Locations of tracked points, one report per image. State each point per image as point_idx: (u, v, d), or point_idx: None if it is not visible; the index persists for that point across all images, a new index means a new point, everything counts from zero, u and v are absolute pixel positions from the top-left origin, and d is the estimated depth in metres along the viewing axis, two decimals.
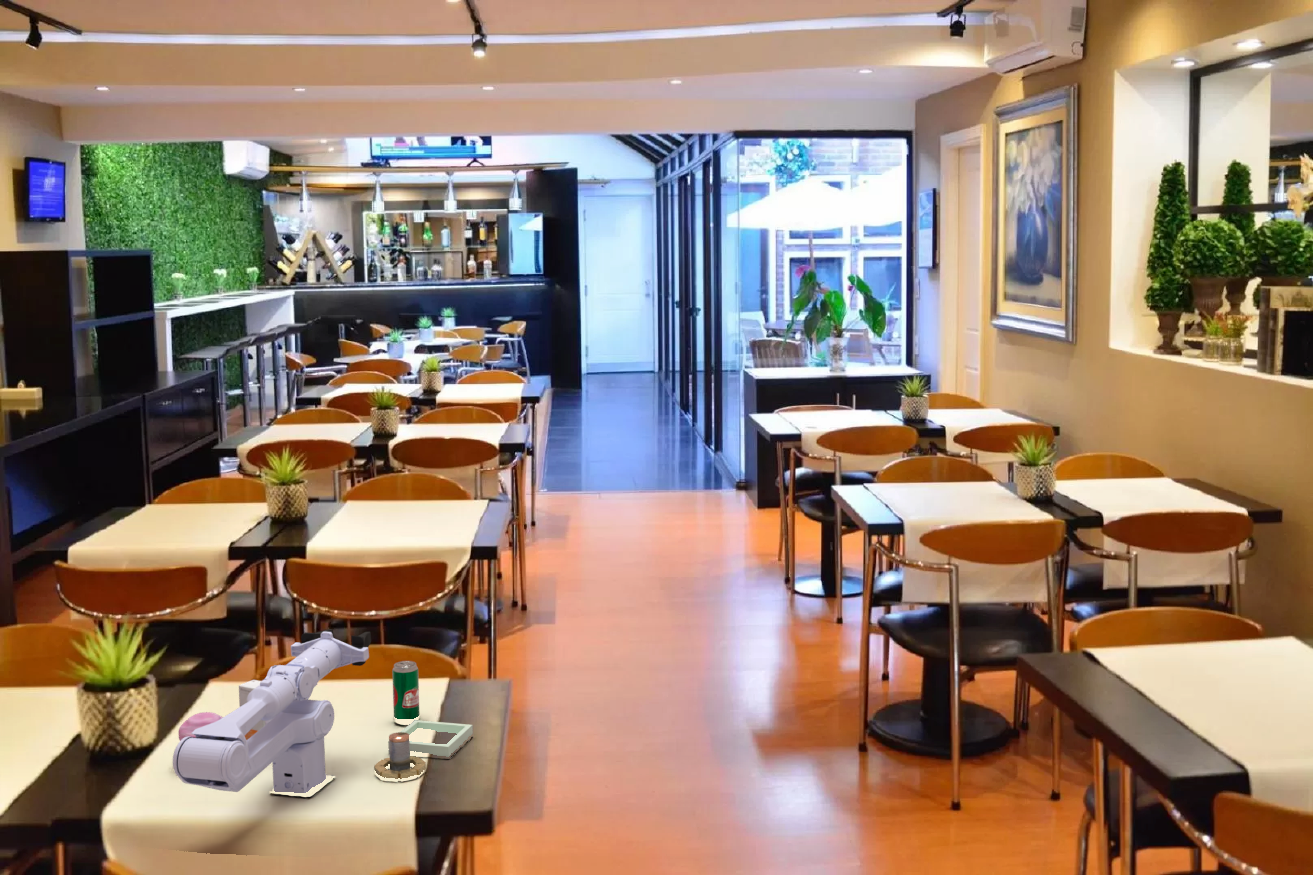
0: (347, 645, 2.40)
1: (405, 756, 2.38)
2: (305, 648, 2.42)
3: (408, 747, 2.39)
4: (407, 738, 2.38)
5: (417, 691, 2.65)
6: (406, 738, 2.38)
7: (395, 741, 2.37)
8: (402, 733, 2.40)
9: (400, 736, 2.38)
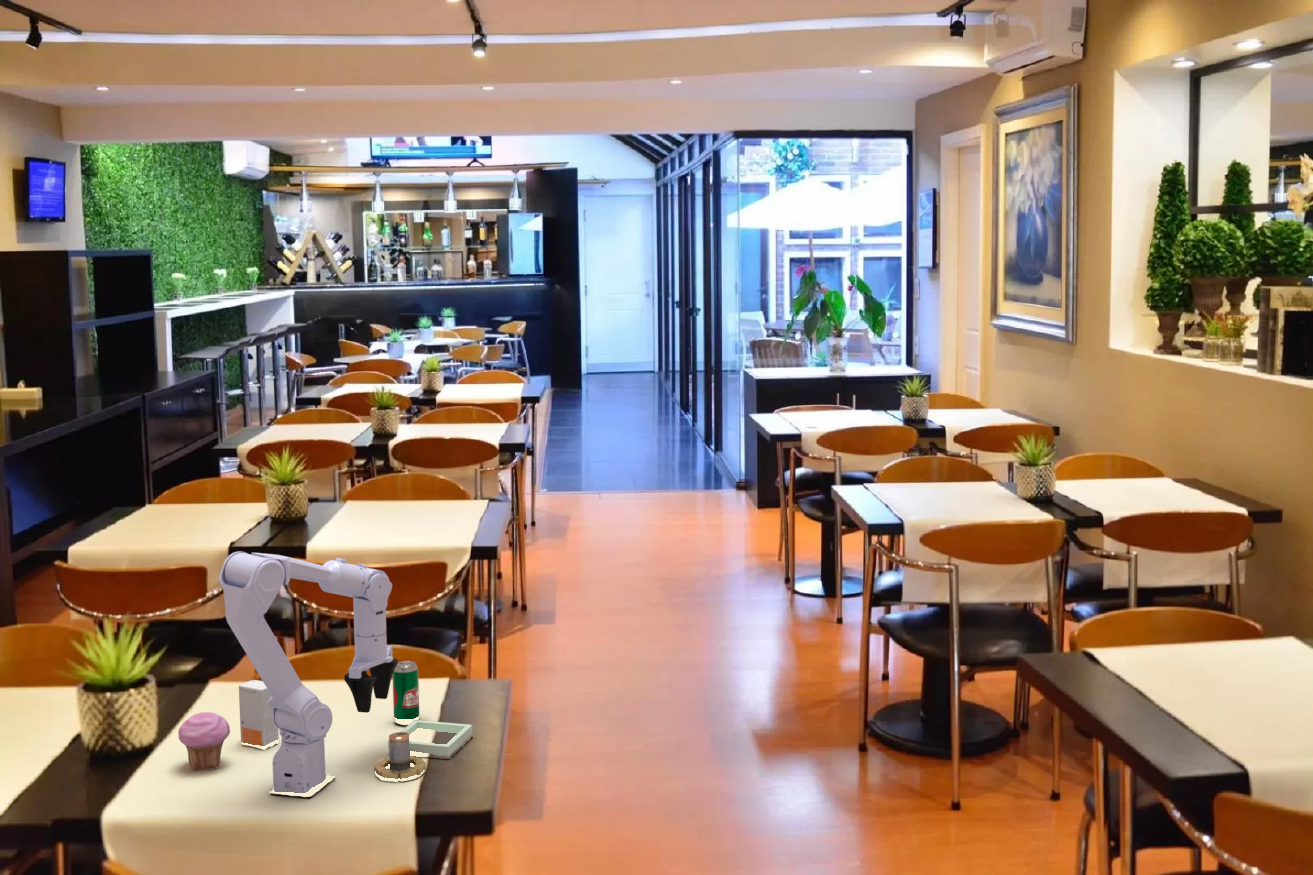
0: (370, 664, 2.40)
1: (405, 756, 2.38)
2: None
3: (408, 747, 2.39)
4: (407, 738, 2.38)
5: (417, 691, 2.65)
6: (406, 738, 2.38)
7: (395, 741, 2.37)
8: (401, 733, 2.40)
9: (400, 736, 2.38)
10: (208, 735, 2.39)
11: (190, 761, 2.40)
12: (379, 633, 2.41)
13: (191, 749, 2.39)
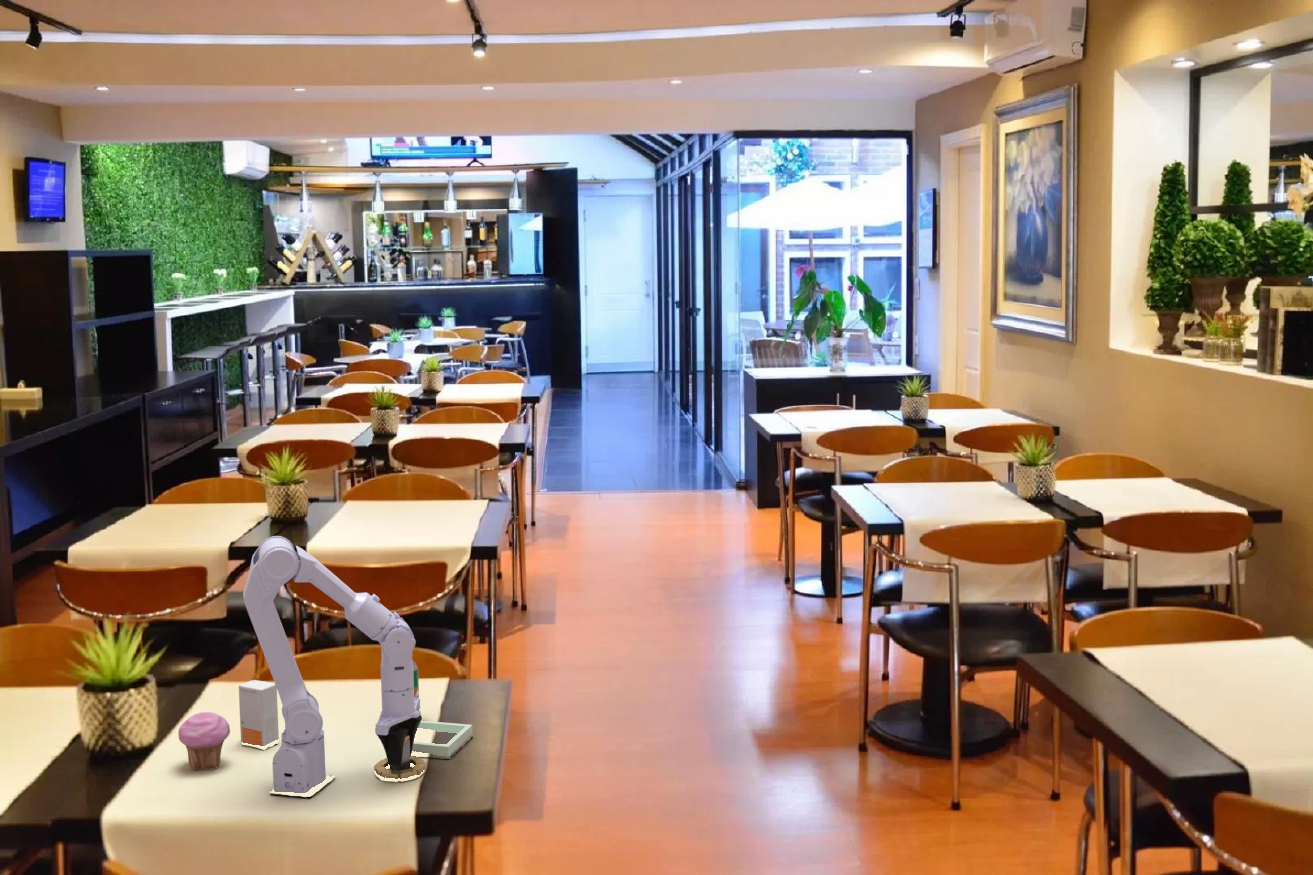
0: (397, 720, 2.34)
1: (405, 756, 2.38)
2: None
3: (408, 747, 2.39)
4: (407, 738, 2.38)
5: (417, 691, 2.65)
6: (406, 738, 2.38)
7: None
8: None
9: None
10: (208, 735, 2.39)
11: (190, 761, 2.40)
12: (398, 689, 2.35)
13: (191, 749, 2.39)
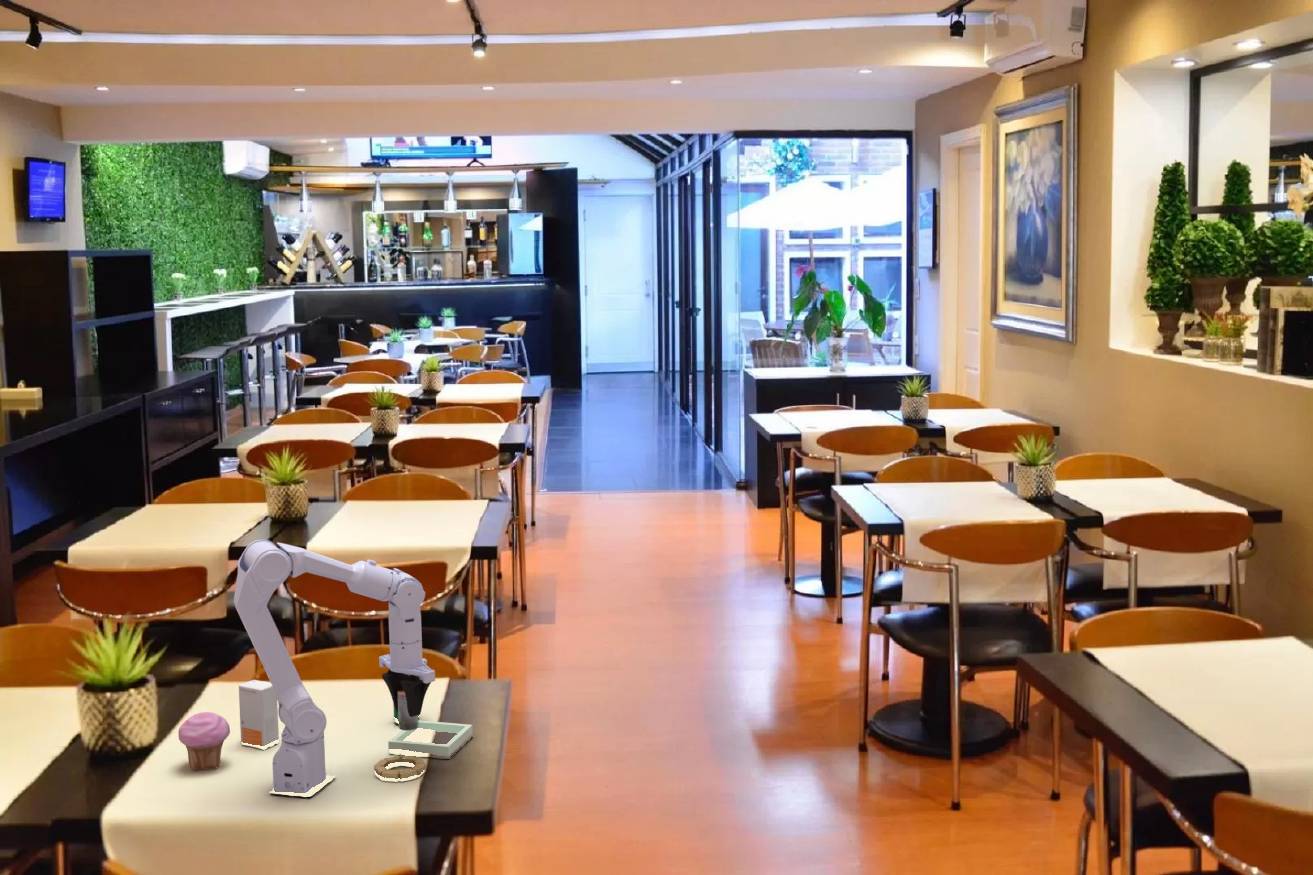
0: (427, 667, 2.39)
1: None
2: None
3: None
4: None
5: None
6: None
7: None
8: None
9: None
10: (208, 735, 2.39)
11: (190, 761, 2.40)
12: (409, 641, 2.38)
13: (191, 749, 2.39)
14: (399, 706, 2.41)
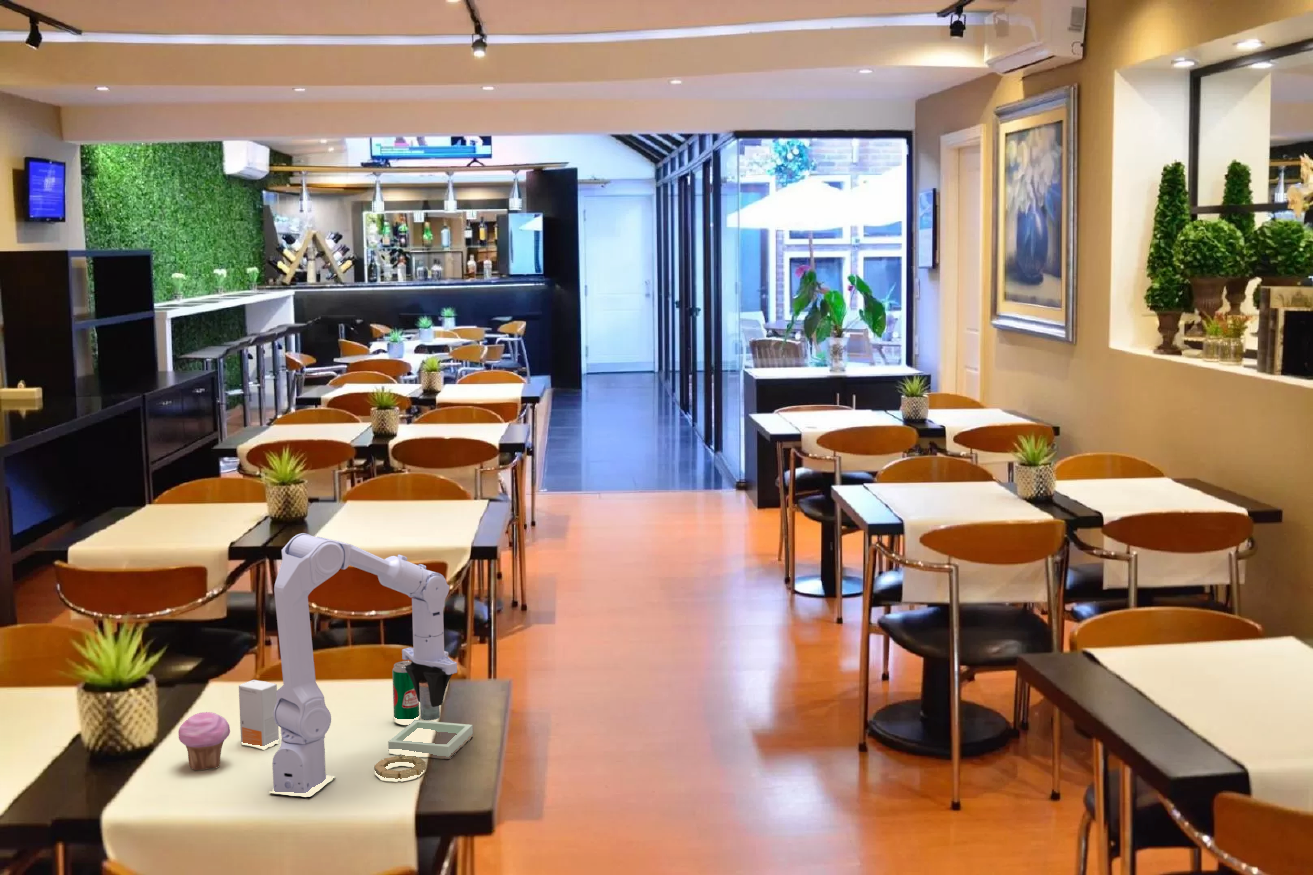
0: (449, 659, 2.49)
1: None
2: None
3: None
4: None
5: None
6: None
7: None
8: (424, 680, 2.52)
9: None
10: (208, 735, 2.39)
11: (190, 761, 2.40)
12: (436, 634, 2.48)
13: (191, 749, 2.39)
14: (422, 697, 2.50)
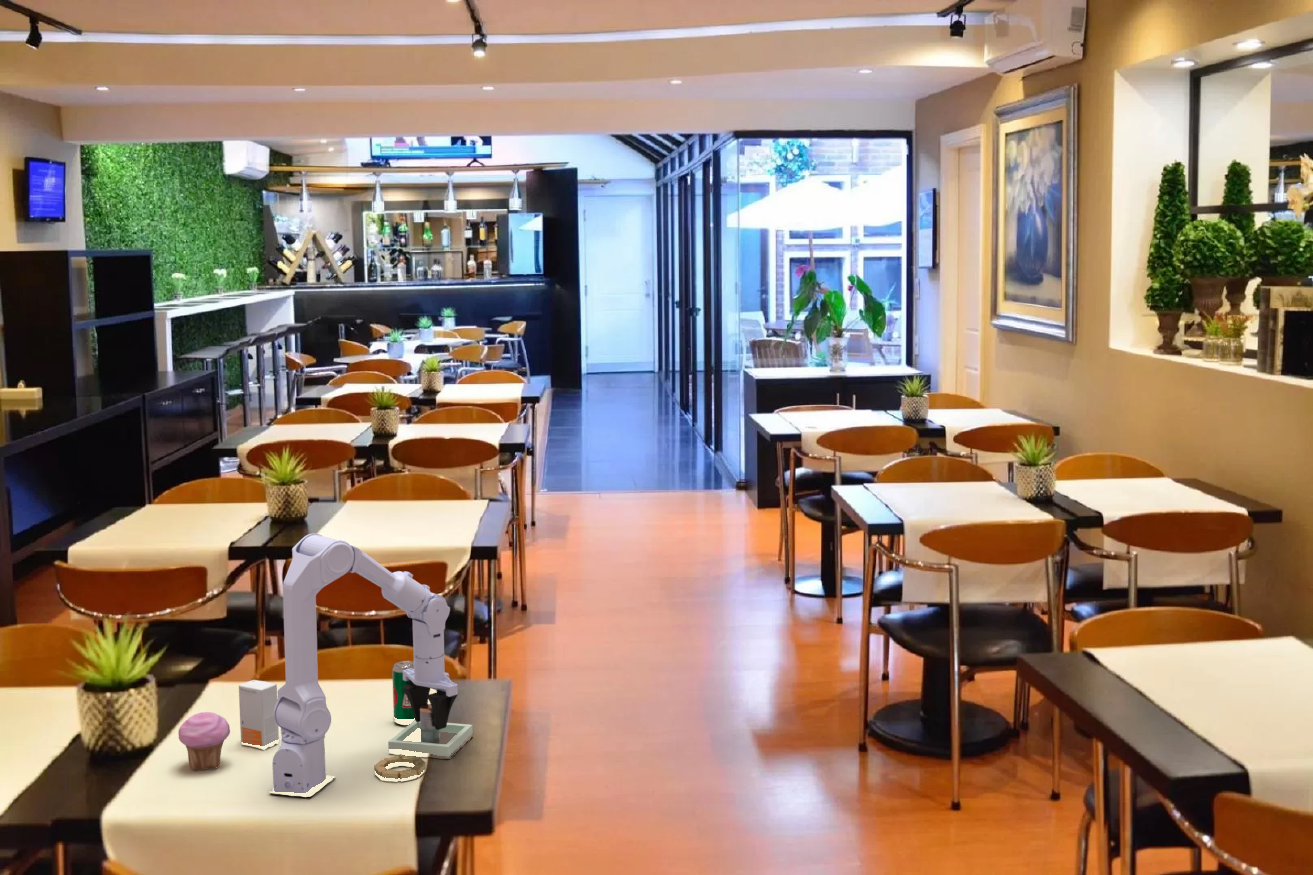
0: None
1: None
2: None
3: None
4: None
5: None
6: None
7: None
8: (425, 705, 2.53)
9: None
10: (208, 735, 2.39)
11: (190, 761, 2.40)
12: (436, 655, 2.49)
13: (191, 749, 2.39)
14: (422, 723, 2.51)
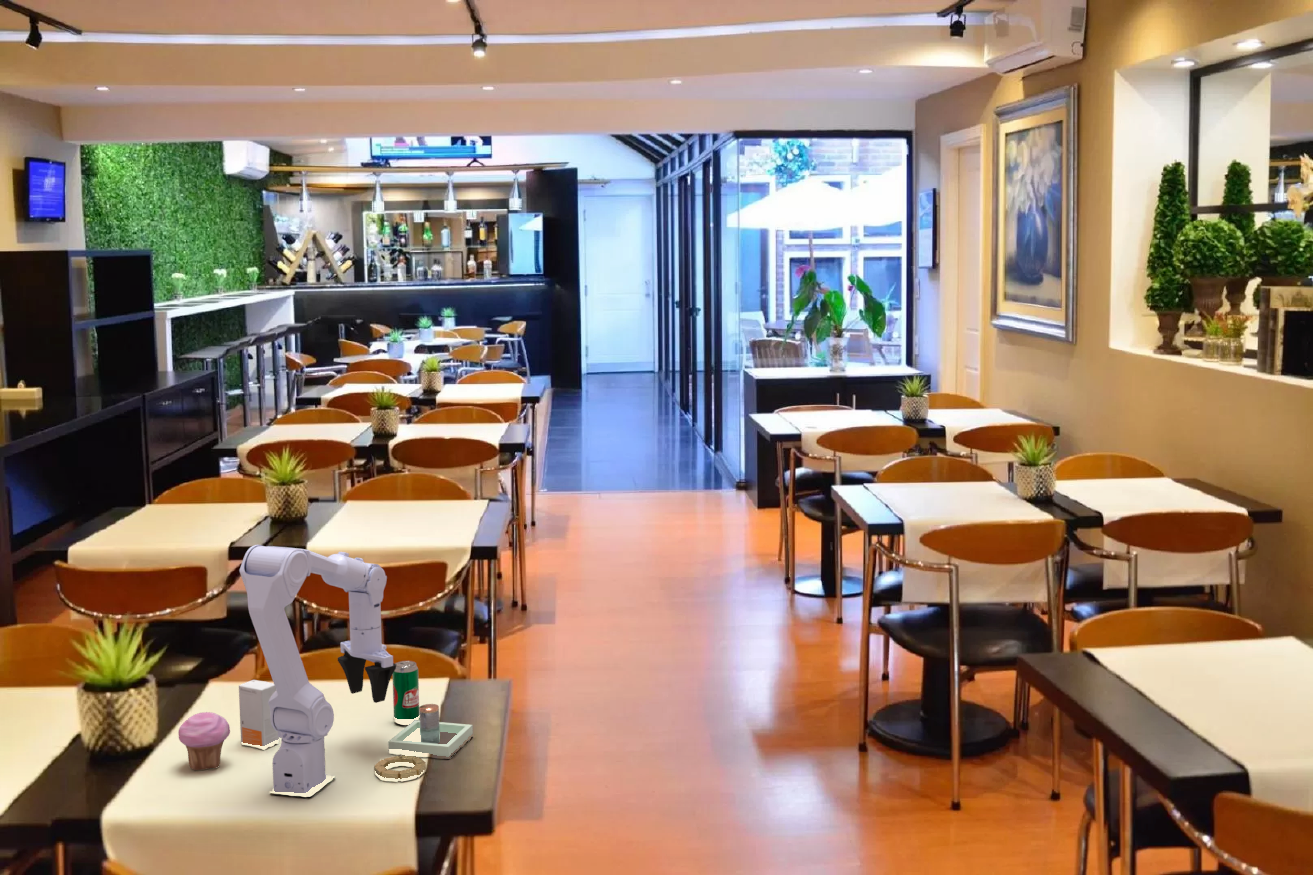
0: (386, 652, 2.47)
1: None
2: None
3: None
4: None
5: (417, 691, 2.65)
6: (437, 706, 2.53)
7: (435, 711, 2.51)
8: (424, 705, 2.53)
9: (431, 706, 2.52)
10: (208, 735, 2.39)
11: (190, 761, 2.40)
12: (377, 625, 2.47)
13: (191, 749, 2.39)
14: (422, 723, 2.51)
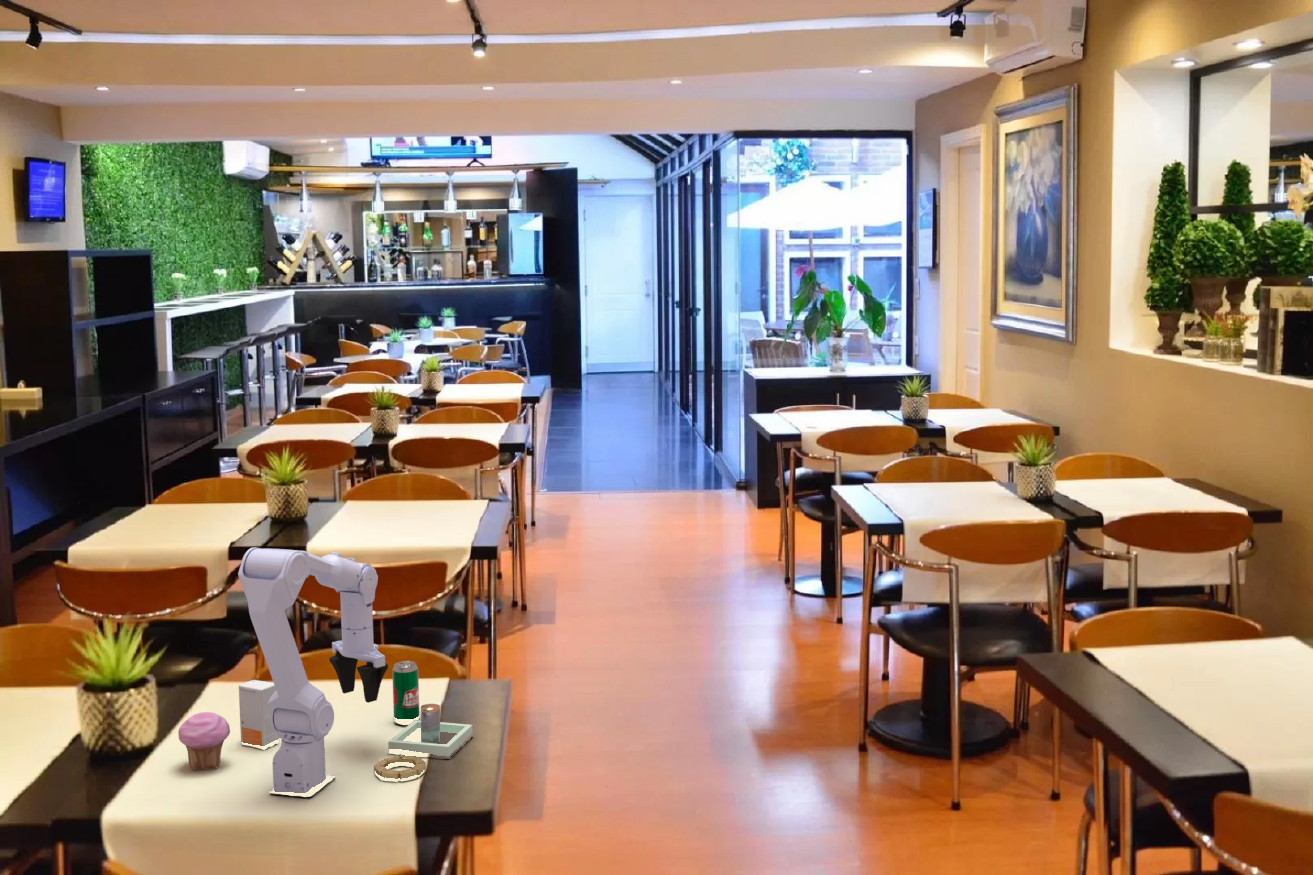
0: None
1: None
2: None
3: None
4: None
5: (417, 691, 2.65)
6: None
7: (437, 710, 2.51)
8: (426, 705, 2.53)
9: (432, 706, 2.52)
10: (208, 735, 2.39)
11: (190, 761, 2.40)
12: (369, 625, 2.47)
13: (191, 749, 2.39)
14: (423, 722, 2.51)
